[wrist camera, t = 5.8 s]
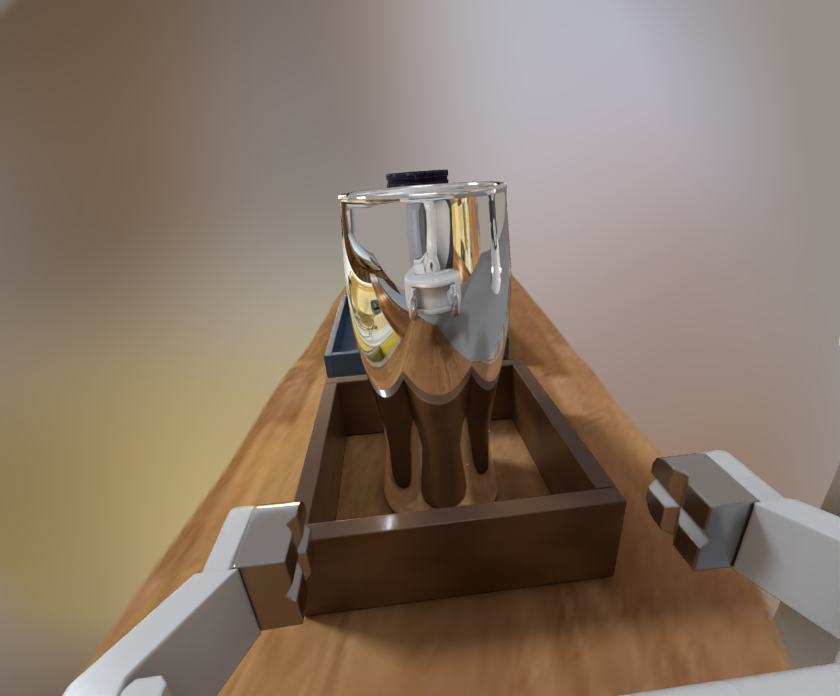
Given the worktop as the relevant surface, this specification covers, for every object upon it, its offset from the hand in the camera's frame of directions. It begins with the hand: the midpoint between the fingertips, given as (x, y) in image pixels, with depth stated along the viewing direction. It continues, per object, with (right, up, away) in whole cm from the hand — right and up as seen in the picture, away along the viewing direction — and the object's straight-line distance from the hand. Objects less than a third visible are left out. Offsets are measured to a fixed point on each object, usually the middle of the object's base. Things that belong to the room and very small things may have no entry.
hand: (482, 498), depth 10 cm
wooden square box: (0, -4, +13) cm, 13 cm away
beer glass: (0, -4, +13) cm, 13 cm away
